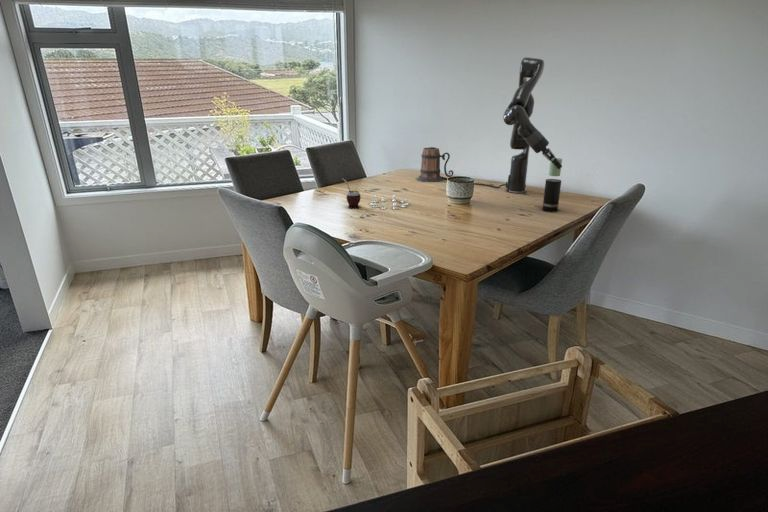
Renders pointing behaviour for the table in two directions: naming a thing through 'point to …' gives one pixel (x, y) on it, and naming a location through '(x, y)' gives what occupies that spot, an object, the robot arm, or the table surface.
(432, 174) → the tankard
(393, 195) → the game piece set
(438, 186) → the table surface
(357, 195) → the mate gourd
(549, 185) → the thermos
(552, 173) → the cap
